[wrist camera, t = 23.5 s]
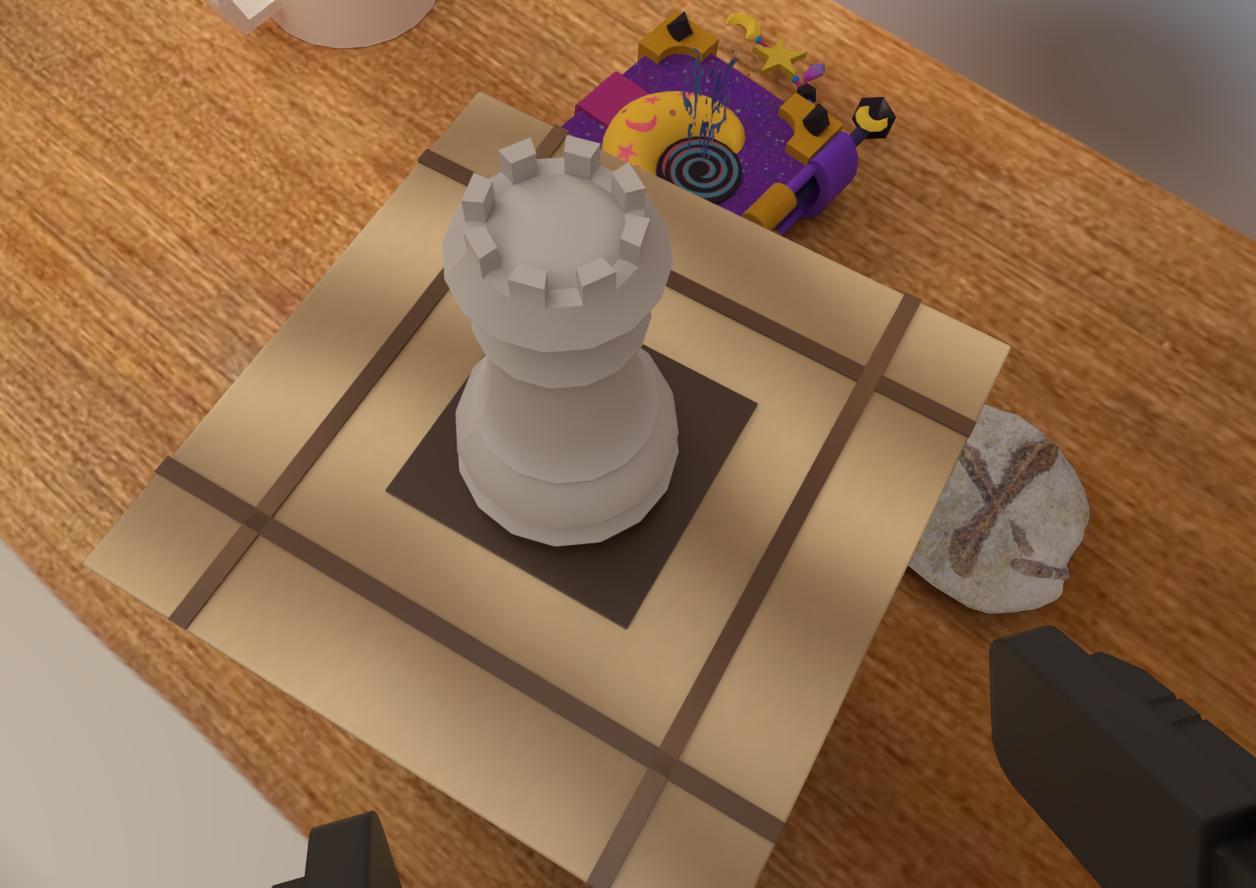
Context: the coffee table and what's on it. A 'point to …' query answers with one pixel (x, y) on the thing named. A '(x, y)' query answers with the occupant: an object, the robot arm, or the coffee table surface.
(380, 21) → the mug
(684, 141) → the book
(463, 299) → the rook chess piece
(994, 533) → the stone
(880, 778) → the coffee table surface
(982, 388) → the game board
